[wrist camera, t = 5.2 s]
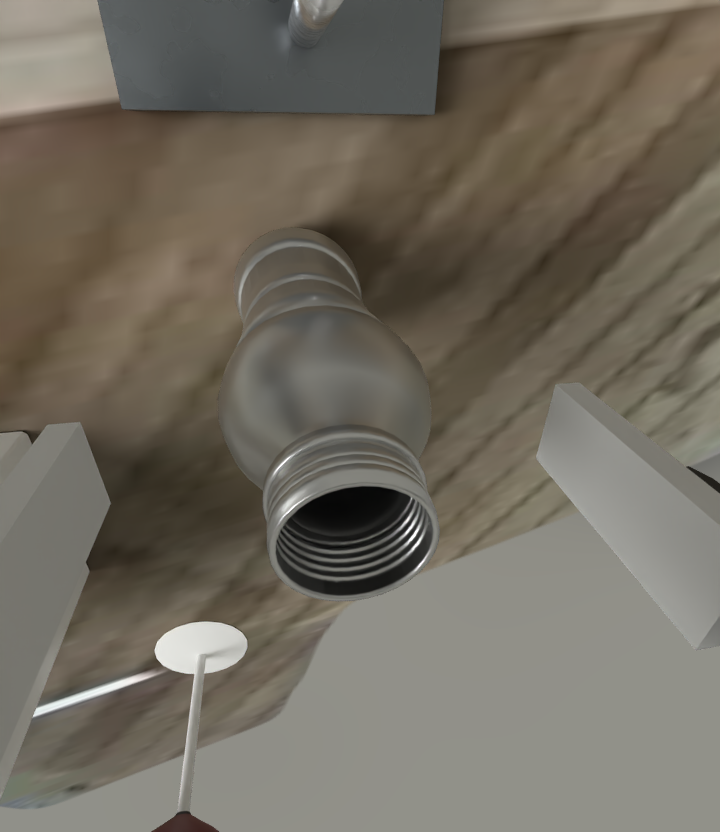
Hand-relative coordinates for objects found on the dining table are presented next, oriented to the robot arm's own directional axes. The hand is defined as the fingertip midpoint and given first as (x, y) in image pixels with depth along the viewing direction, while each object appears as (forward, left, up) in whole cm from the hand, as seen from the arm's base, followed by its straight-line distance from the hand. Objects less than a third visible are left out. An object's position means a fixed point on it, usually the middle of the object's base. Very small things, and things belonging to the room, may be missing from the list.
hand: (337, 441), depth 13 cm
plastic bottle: (0, 0, -16) cm, 16 cm away
